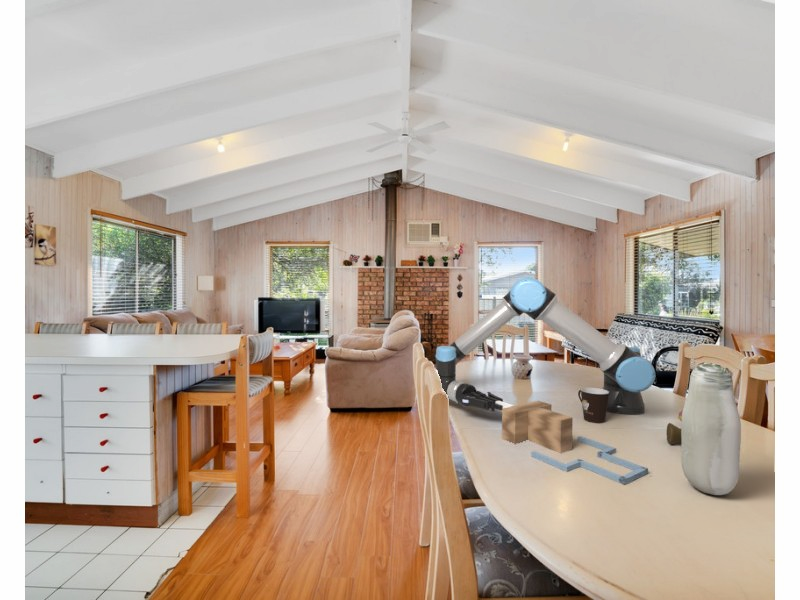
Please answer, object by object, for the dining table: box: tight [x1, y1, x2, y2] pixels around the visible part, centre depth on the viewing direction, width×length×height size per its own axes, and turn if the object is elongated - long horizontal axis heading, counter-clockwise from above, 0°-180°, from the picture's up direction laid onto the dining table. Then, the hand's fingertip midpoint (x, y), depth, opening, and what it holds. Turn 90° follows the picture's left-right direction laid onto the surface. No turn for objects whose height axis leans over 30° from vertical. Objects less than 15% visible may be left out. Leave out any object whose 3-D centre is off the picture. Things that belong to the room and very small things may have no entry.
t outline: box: [530, 435, 649, 485], centre depth 104 cm, size 22×21×1 cm
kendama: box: [665, 422, 682, 445], centre depth 112 cm, size 6×10×20 cm
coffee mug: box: [577, 387, 609, 424], centre depth 138 cm, size 12×9×10 cm
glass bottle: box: [680, 363, 742, 496], centre depth 89 cm, size 10×10×28 cm
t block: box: [501, 400, 574, 454], centre depth 117 cm, size 16×16×9 cm
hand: (512, 410), depth 127 cm, fingers closed
